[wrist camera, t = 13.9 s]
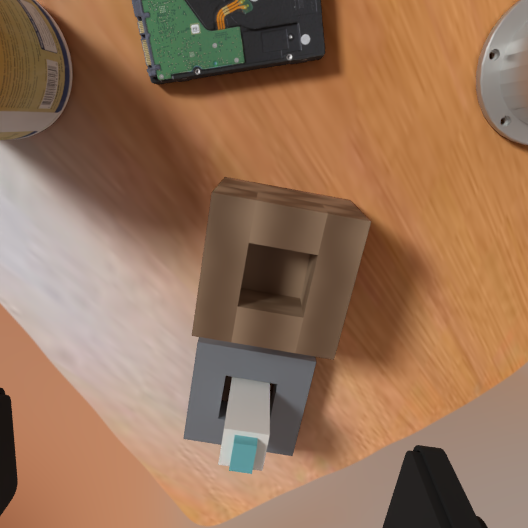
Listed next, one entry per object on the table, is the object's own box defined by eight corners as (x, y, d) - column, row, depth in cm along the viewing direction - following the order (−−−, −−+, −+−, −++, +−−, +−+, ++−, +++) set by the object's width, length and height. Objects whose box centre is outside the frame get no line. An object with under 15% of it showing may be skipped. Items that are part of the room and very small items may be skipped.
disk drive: (309, -82, 33) (128, -48, 34) (312, -100, 31) (116, -62, 32) (323, 60, 37) (157, 88, 37) (327, 55, 34) (149, 85, 35)
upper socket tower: (349, 200, 40) (371, 221, 31) (321, 313, 44) (333, 359, 35) (224, 177, 39) (211, 192, 31) (207, 293, 43) (191, 335, 35)
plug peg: (270, 370, 46) (269, 443, 36) (264, 400, 47) (262, 479, 37) (233, 365, 46) (222, 436, 35) (228, 395, 47) (216, 473, 37)
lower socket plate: (313, 346, 45) (316, 361, 42) (291, 436, 49) (292, 456, 46) (202, 327, 44) (197, 341, 42) (188, 420, 48) (183, 438, 45)
